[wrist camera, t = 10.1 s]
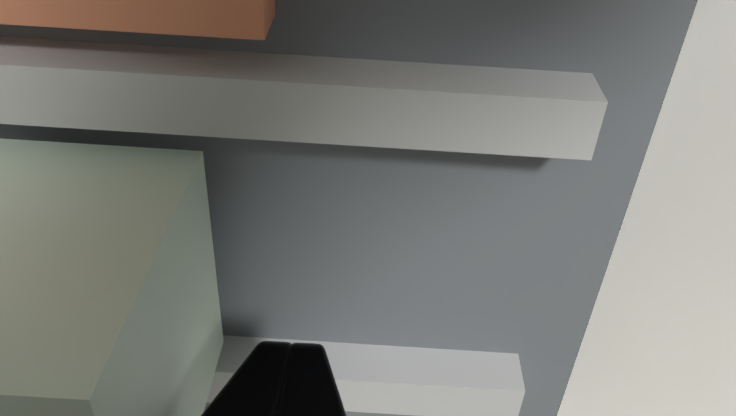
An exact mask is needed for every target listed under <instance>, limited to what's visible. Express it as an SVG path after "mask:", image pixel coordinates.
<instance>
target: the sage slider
mask: <svg viewBox="0 0 736 416" xmlns="http://www.w3.org/2000/svg"><path fill="white" fill-rule="evenodd" d="M223 342H224V340H223V331H222V322H221V313H220V304H219V295H218V286H217V276H216V267H215V258H214V249H213V240H212V231H211V222H210V213H209V204H208V194H207V185H206V176H205V167H204V158H203V151H195V150H178V149H162V148H146V147H130V146H114V145H97V144H81V143H65V142H49V141H33V140H17V139H0V416H201V415H202V413H203V412H204V409H205V406H206V402H207V399H208V395H209V391H210V388H211V384H212V381H213V377H214V374H215V370H216V367H217V363H218V360H219V356H220V352H221V349H222V345H223Z"/></svg>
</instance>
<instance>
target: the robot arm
mask: <svg viewBox="0 0 736 416" xmlns="http://www.w3.org/2000/svg"><path fill="white" fill-rule="evenodd" d="M201 416H346V413H345V409H344V406H343V403H342V400H341V397H340V394H339V391H338V388H337V385H336V382H335V378H334V375H333V372H332V369H331V366H330V363H329V360H328V357H327V354H326V351H325V348H324V347H323V345H321V344H315V343H293V344H291V343H289V342H278V341H262V342H260V343H258V344H257V345H256V346H255V348H254V349H253V350H252V351H251V353H250V354H249V355H248V356H247V358H246V359H245V360H244V362H243V363H242V364H241V365H240V367H239V368H238V369H237V370H236V372H235V373H234V374H233V375H232V377H231V378H230V379H229V381H228V382H227V383H226V384H225V386H224V387H223V388H222V389H221V391H220V392H219V393H218V394H217V396H216V397H215V398H214V399H213V401H212V402H211V403H210V405H209V406H208V407H207V408H206V410H205V411H204V412H203V413H202V415H201Z"/></svg>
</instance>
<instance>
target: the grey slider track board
mask: <svg viewBox="0 0 736 416" xmlns="http://www.w3.org/2000/svg"><path fill="white" fill-rule="evenodd" d="M696 3H697V0H0V139H17V140H33V141H49V142H65V143H81V144H97V145H114V146H130V147H146V148H162V149H178V150H195V151H203V158H204V167H205V176H206V185H207V194H208V204H209V213H210V222H211V231H212V240H213V249H214V258H215V267H216V276H217V286H218V295H219V304H220V313H221V322H222V331H223V340H224V342H223V345H222V349H221V352H220V356H219V360H218V363H217V367H216V370H215V374H214V377H213V381H212V384H211V388H210V391H209V395H208V399H207V402H206V406H205V409H204V411H205V410H206V408H207V407H208V406H209V405H210V403H211V402H212V401H213V399H214V398H215V397H216V396H217V394H218V393H219V392H220V391H221V389H222V388H223V387H224V386H225V384H226V383H227V382H228V381H229V379H230V378H231V377H232V375H233V374H234V373H235V372H236V370H237V369H238V368H239V367H240V365H241V364H242V363H243V362H244V360H245V359H246V358H247V356H248V355H249V354H250V353H251V351H252V350H253V349H254V348H255V346H256V345H257V344H258V343H260V342H262V341H278V342H289V343H291V344H293V343H315V344H321V345H323V347H324V348H325V351H326V354H327V357H328V360H329V363H330V366H331V369H332V372H333V375H334V378H335V382H336V385H337V388H338V391H339V394H340V397H341V400H342V403H343V406H344V409H345V413H346V416H557V413H558V410H559V407H560V404H561V401H562V398H563V395H564V393H565V390H566V387H567V384H568V381H569V378H570V375H571V372H572V369H573V366H574V363H575V360H576V357H577V354H578V351H579V348H580V345H581V342H582V339H583V337H584V334H585V331H586V328H587V325H588V322H589V319H590V316H591V313H592V310H593V307H594V304H595V301H596V298H597V295H598V292H599V289H600V286H601V283H602V281H603V278H604V275H605V272H606V269H607V266H608V263H609V260H610V257H611V254H612V251H613V248H614V245H615V242H616V239H617V236H618V233H619V230H620V227H621V225H622V222H623V219H624V216H625V213H626V210H627V207H628V204H629V201H630V198H631V195H632V192H633V189H634V186H635V183H636V180H637V177H638V174H639V171H640V169H641V166H642V163H643V160H644V157H645V154H646V151H647V148H648V145H649V142H650V139H651V136H652V133H653V130H654V127H655V124H656V121H657V118H658V115H659V112H660V110H661V107H662V104H663V101H664V98H665V95H666V92H667V89H668V86H669V83H670V80H671V77H672V74H673V71H674V68H675V65H676V62H677V59H678V56H679V54H680V51H681V48H682V45H683V42H684V39H685V36H686V33H687V30H688V27H689V24H690V21H691V18H692V15H693V12H694V9H695V6H696Z"/></svg>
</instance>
